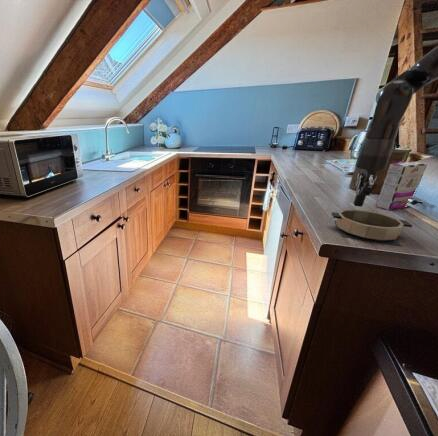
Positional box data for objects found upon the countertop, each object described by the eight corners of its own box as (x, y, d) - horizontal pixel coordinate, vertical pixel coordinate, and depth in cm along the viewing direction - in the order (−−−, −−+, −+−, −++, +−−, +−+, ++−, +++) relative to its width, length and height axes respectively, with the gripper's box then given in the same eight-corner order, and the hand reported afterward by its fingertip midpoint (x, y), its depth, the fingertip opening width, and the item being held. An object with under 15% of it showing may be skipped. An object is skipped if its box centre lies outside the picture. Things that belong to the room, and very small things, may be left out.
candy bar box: (394, 203, 96) (411, 161, 89) (410, 207, 91) (429, 163, 85) (373, 206, 93) (389, 163, 87) (388, 210, 89) (406, 165, 82)
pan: (392, 227, 75) (398, 214, 73) (415, 248, 63) (422, 232, 61) (324, 219, 82) (328, 206, 80) (333, 236, 70) (338, 222, 68)
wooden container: (394, 195, 104) (415, 142, 96) (351, 191, 112) (366, 141, 103) (386, 187, 116) (403, 139, 108) (347, 184, 123) (361, 138, 115)
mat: (385, 227, 75) (385, 227, 75) (401, 246, 65) (401, 245, 65) (334, 220, 81) (334, 220, 81) (341, 236, 70) (341, 236, 70)
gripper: (398, 156, 69) (378, 213, 75) (382, 151, 80) (366, 201, 86) (365, 155, 72) (348, 210, 79) (354, 150, 83) (340, 198, 89)
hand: (357, 205), depth 82 cm, fingers closed
